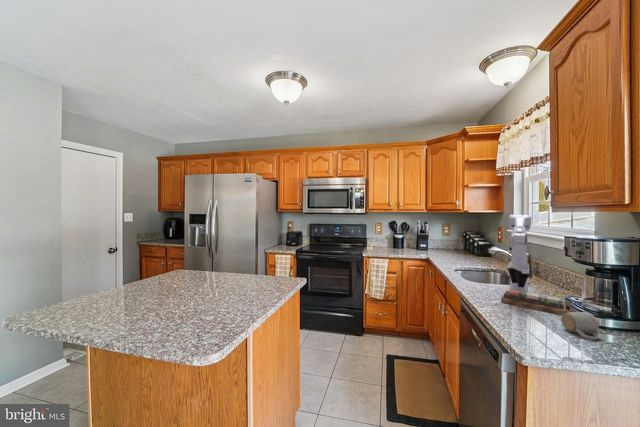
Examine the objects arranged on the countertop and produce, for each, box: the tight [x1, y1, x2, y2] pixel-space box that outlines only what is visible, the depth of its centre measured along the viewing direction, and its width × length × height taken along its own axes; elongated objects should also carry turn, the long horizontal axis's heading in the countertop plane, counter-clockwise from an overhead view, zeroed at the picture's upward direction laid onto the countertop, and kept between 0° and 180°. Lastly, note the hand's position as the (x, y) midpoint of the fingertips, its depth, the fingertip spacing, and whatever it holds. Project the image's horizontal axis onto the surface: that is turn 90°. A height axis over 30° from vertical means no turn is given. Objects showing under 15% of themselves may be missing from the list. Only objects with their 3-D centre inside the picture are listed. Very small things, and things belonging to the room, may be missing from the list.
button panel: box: [500, 290, 567, 316], centre depth 131 cm, size 24×12×4 cm, turn 49°
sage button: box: [546, 295, 560, 304], centre depth 126 cm, size 4×4×2 cm
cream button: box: [527, 292, 540, 300], centre depth 131 cm, size 4×4×2 cm
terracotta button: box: [507, 288, 520, 296], centre depth 136 cm, size 4×4×2 cm
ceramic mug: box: [561, 311, 600, 341], centre depth 102 cm, size 11×8×8 cm
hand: (517, 285), depth 133 cm, fingers open, 7 cm apart
